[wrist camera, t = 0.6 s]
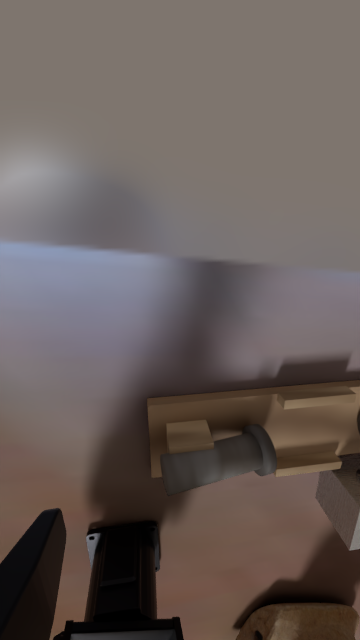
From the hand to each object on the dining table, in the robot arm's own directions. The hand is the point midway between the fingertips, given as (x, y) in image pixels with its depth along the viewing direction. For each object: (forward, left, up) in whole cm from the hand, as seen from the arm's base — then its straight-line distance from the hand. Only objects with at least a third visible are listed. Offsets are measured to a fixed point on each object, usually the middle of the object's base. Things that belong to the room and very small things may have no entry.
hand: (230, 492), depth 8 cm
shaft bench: (-9, -11, -14) cm, 20 cm away
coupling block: (-17, -17, -14) cm, 27 cm away
